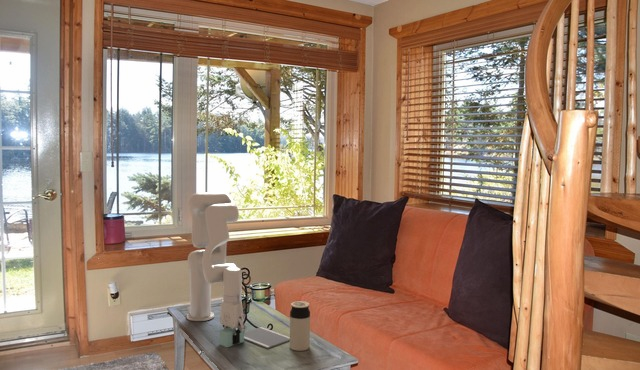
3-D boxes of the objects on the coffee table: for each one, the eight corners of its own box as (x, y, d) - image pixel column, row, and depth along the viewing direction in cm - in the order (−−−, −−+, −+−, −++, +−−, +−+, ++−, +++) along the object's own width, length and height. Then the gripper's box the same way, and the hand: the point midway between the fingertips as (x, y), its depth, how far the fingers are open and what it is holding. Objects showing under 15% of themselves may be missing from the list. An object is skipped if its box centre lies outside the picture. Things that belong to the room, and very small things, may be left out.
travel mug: (294, 352, 218) (295, 307, 217) (286, 345, 225) (287, 302, 224) (312, 349, 222) (313, 305, 220) (304, 342, 229) (304, 300, 227)
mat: (235, 336, 235) (235, 334, 235) (260, 328, 245) (260, 326, 245) (267, 348, 222) (267, 347, 222) (292, 339, 232) (292, 338, 232)
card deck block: (219, 344, 226) (219, 329, 225) (237, 338, 232) (237, 324, 232) (226, 347, 222) (226, 332, 222) (244, 341, 229) (244, 327, 229)
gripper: (212, 295, 229) (212, 339, 230) (238, 304, 217) (238, 350, 219) (226, 292, 234) (226, 334, 236) (252, 300, 223) (252, 345, 224)
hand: (232, 341), depth 227 cm, fingers closed on card deck block, 4 cm apart
